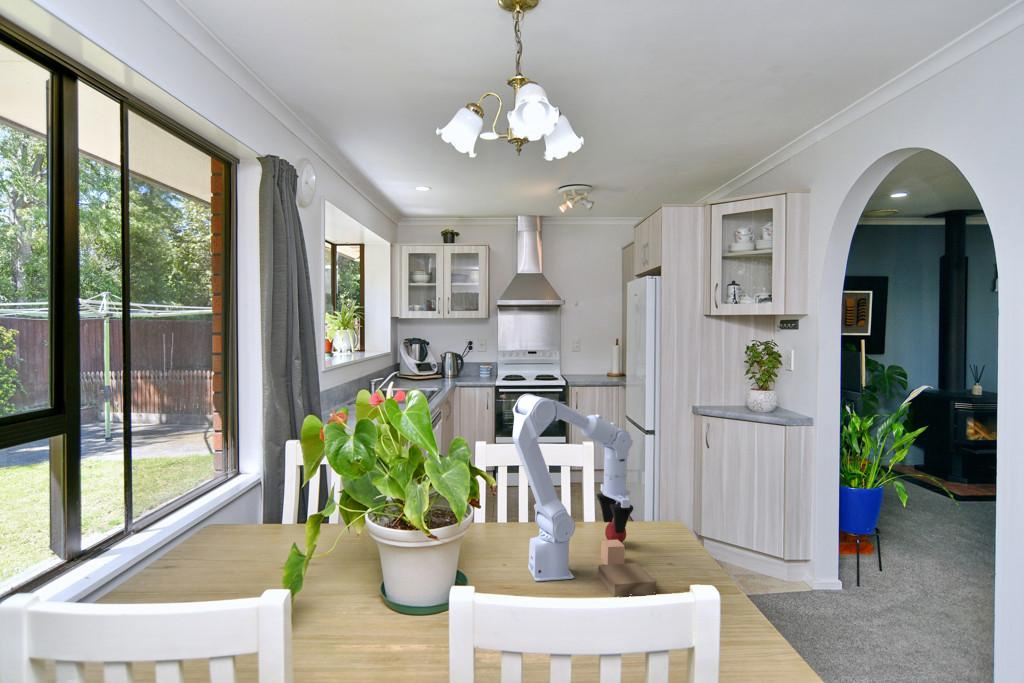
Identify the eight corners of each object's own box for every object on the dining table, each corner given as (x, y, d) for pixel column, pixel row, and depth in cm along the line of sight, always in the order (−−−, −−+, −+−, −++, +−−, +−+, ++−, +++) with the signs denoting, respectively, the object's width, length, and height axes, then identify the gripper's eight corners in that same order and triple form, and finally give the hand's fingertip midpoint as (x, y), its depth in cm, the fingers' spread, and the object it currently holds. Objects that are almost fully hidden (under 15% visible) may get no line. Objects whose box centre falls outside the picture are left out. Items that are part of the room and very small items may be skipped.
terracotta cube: (607, 566, 138) (608, 547, 138) (600, 559, 142) (601, 540, 142) (624, 565, 139) (624, 546, 138) (617, 558, 143) (617, 539, 143)
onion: (625, 551, 148) (626, 521, 148) (604, 548, 149) (605, 519, 149) (625, 543, 153) (626, 514, 153) (605, 541, 155) (605, 513, 154)
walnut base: (614, 597, 121) (614, 584, 121) (598, 577, 131) (598, 565, 131) (655, 594, 123) (656, 581, 123) (636, 575, 133) (637, 562, 133)
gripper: (642, 481, 134) (640, 536, 134) (618, 466, 148) (616, 516, 148) (615, 482, 132) (613, 538, 132) (593, 467, 146) (592, 517, 147)
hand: (613, 527), depth 140 cm, fingers open, 7 cm apart
